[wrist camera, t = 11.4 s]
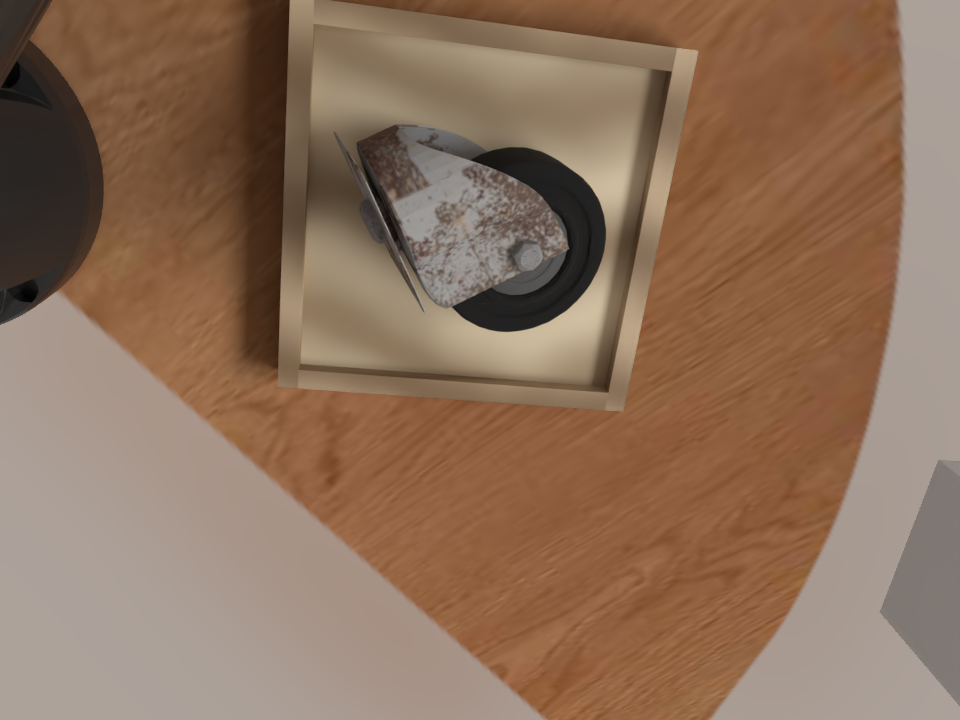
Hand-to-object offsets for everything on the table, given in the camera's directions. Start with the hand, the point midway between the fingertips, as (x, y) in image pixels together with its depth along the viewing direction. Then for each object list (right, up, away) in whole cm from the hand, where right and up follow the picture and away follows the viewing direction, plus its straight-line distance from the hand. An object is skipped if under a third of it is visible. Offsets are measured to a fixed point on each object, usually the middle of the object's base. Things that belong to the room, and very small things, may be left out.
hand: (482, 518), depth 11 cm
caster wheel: (0, +10, +27) cm, 29 cm away
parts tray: (0, +9, +28) cm, 30 cm away
